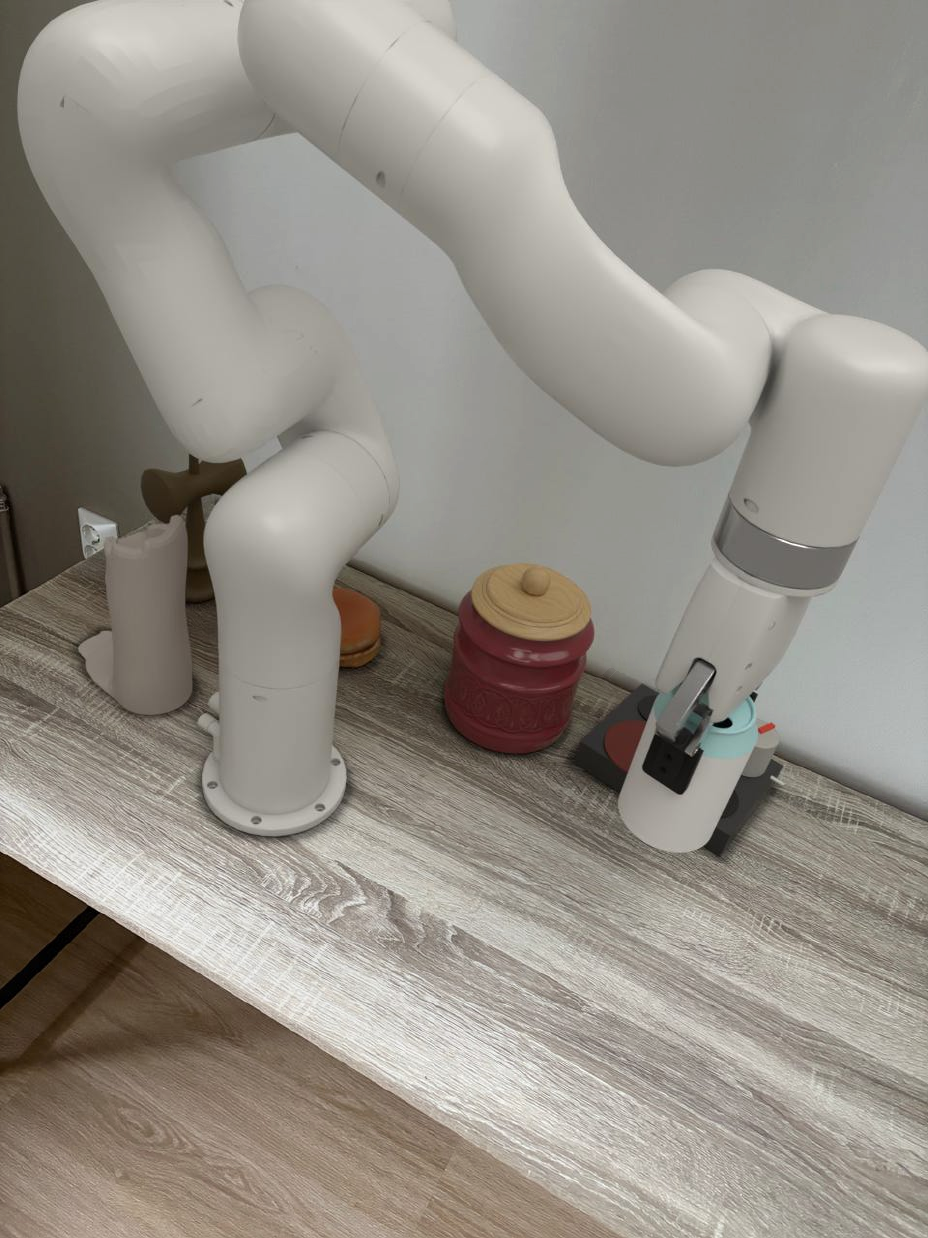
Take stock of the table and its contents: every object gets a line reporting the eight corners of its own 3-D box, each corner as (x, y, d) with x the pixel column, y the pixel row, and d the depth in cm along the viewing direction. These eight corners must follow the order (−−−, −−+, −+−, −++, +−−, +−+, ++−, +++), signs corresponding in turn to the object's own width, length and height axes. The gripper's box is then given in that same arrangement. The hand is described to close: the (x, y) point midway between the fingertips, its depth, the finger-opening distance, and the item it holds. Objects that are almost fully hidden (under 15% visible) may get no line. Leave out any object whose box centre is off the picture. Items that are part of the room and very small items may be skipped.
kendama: (250, 588, 109) (252, 426, 97) (177, 622, 103) (170, 453, 90) (215, 563, 112) (213, 402, 99) (142, 594, 105) (131, 427, 93)
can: (729, 828, 72) (787, 710, 64) (671, 875, 68) (727, 755, 60) (655, 769, 75) (702, 651, 68) (596, 810, 71) (639, 689, 64)
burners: (588, 749, 92) (589, 747, 92) (650, 690, 100) (650, 688, 100) (719, 832, 86) (720, 830, 86) (773, 762, 95) (774, 760, 94)
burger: (390, 666, 102) (395, 631, 99) (301, 676, 99) (303, 641, 96) (367, 608, 109) (370, 574, 106) (283, 616, 106) (284, 581, 103)
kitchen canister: (594, 731, 99) (638, 592, 88) (490, 774, 92) (525, 629, 81) (518, 654, 106) (550, 518, 96) (417, 689, 100) (440, 546, 89)
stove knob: (745, 783, 92) (760, 751, 89) (715, 754, 94) (729, 722, 91) (774, 769, 94) (789, 737, 91) (744, 742, 96) (758, 710, 94)
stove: (573, 762, 95) (580, 739, 93) (642, 697, 104) (649, 674, 102) (730, 864, 88) (742, 841, 86) (789, 784, 97) (801, 762, 95)
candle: (120, 622, 101) (105, 451, 89) (208, 691, 95) (204, 518, 83) (57, 652, 96) (32, 476, 84) (145, 726, 90) (131, 548, 78)
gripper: (786, 465, 64) (703, 669, 75) (651, 562, 52) (576, 786, 63) (895, 516, 60) (792, 721, 71) (778, 632, 49) (676, 855, 60)
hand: (691, 750), depth 67 cm, fingers closed on can, 7 cm apart
